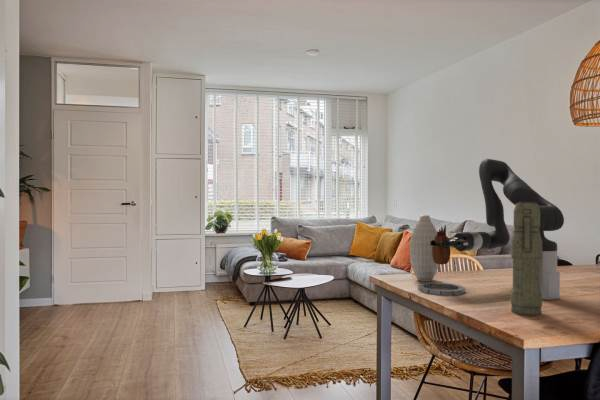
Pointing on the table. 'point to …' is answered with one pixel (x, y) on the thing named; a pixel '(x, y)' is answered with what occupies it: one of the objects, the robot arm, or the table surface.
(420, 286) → the steel ring
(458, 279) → the table surface
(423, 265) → the vase
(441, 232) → the wooden figurine
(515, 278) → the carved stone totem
